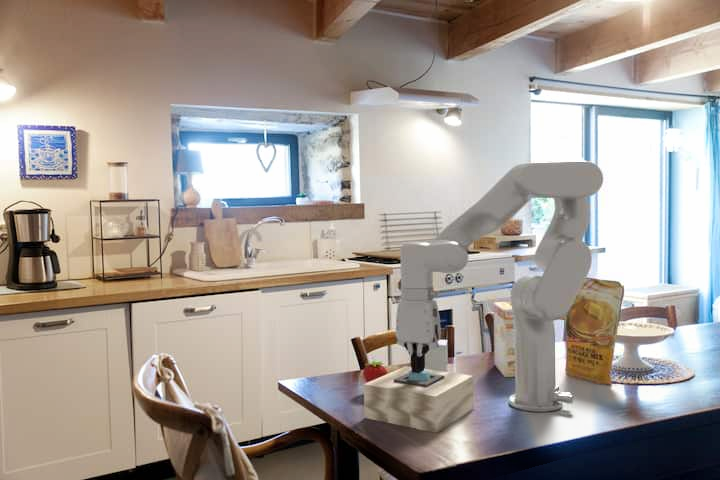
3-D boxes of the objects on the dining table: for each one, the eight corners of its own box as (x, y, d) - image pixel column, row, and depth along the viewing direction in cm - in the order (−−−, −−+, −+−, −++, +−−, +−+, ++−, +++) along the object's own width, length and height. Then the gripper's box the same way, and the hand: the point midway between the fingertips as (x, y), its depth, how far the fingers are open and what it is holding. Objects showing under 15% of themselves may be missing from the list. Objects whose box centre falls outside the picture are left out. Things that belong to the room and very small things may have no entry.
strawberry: (373, 398, 160) (372, 360, 160) (359, 391, 167) (358, 355, 166) (393, 395, 163) (392, 357, 163) (378, 388, 170) (377, 352, 169)
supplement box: (447, 392, 164) (446, 345, 163) (419, 391, 165) (418, 344, 165) (448, 384, 171) (447, 339, 171) (421, 383, 173) (420, 338, 172)
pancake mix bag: (572, 368, 184) (571, 274, 182) (627, 384, 167) (626, 280, 165) (555, 372, 181) (554, 276, 179) (609, 388, 164) (608, 282, 162)
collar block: (473, 408, 150) (473, 373, 150) (436, 432, 135) (435, 393, 134) (406, 396, 161) (405, 363, 161) (364, 417, 146) (363, 381, 145)
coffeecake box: (529, 377, 176) (528, 308, 175) (504, 377, 177) (502, 309, 176) (517, 363, 191) (516, 301, 190) (493, 364, 192) (492, 301, 191)
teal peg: (434, 399, 148) (433, 370, 148) (423, 405, 144) (423, 375, 144) (415, 396, 151) (415, 367, 151) (405, 401, 147) (404, 372, 147)
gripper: (452, 294, 145) (453, 372, 146) (398, 290, 154) (399, 364, 155) (437, 298, 139) (438, 379, 140) (381, 294, 148) (382, 370, 149)
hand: (417, 371), depth 147 cm, fingers closed
